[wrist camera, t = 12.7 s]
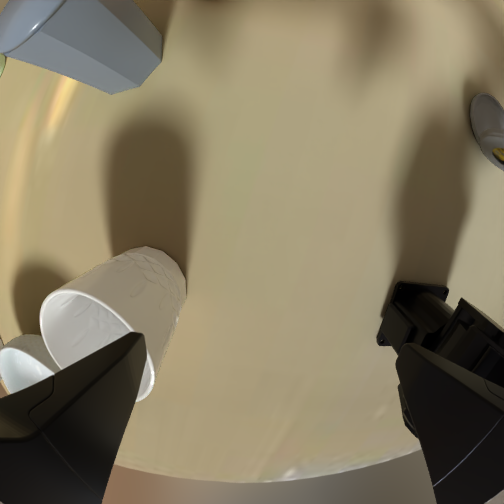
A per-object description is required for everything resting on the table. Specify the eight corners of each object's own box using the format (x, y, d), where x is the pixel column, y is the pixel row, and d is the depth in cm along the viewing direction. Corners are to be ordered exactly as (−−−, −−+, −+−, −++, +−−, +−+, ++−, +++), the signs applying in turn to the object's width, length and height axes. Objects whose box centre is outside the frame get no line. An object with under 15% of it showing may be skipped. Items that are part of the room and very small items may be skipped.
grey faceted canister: (130, 18, 15) (55, -51, 3) (179, 44, 16) (109, -48, 4) (82, 74, 16) (-18, 38, 4) (124, 106, 17) (10, 67, 5)
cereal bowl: (123, 433, 29) (108, 469, 22) (33, 377, 27) (10, 404, 21) (140, 363, 24) (115, 411, 18) (24, 291, 23) (-14, 318, 16)
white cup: (125, 221, 20) (44, 260, 11) (210, 268, 21) (174, 342, 12) (101, 297, 22) (39, 357, 13) (174, 338, 23) (137, 420, 14)
